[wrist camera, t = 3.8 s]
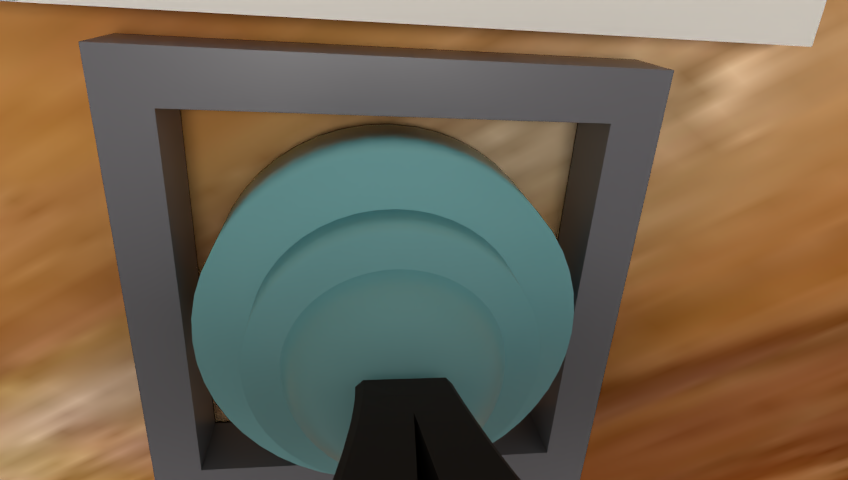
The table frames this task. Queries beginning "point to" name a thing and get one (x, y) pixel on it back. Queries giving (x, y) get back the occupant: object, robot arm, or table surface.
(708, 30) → the frame
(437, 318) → the dome
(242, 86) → the grey square frame
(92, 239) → the table surface
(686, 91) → the table surface
